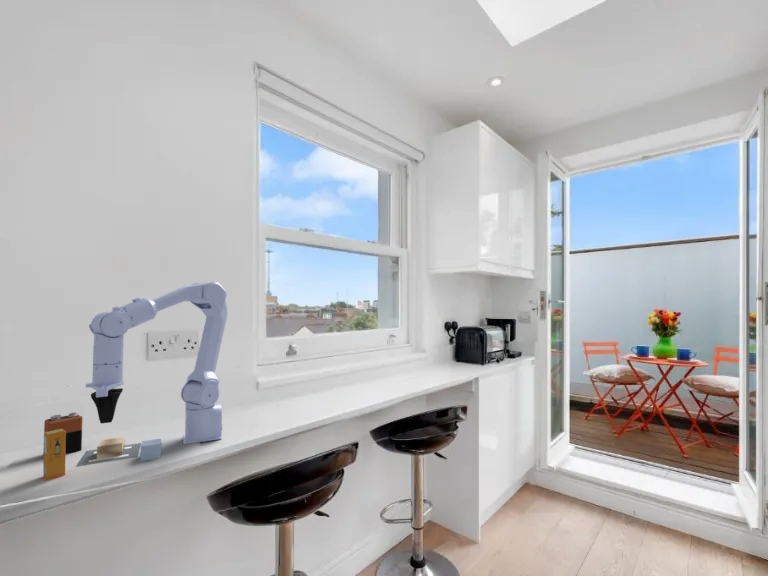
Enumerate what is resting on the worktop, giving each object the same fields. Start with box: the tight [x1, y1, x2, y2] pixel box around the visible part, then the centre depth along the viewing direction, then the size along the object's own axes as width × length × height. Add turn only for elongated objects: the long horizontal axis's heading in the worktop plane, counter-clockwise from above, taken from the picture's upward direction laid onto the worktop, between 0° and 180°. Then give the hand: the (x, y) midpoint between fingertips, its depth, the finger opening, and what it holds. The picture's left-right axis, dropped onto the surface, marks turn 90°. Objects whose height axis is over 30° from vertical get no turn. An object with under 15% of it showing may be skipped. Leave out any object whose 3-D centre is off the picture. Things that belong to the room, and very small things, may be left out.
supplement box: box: [42, 429, 66, 481], centre depth 83 cm, size 3×3×10 cm
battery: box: [42, 412, 83, 456], centre depth 96 cm, size 4×7×10 cm, turn 143°
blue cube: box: [140, 438, 162, 462], centre depth 93 cm, size 4×4×4 cm
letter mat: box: [75, 442, 142, 468], centre depth 95 cm, size 12×11×1 cm
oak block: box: [96, 436, 126, 459], centre depth 95 cm, size 5×5×3 cm
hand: (106, 422), depth 88 cm, fingers closed
